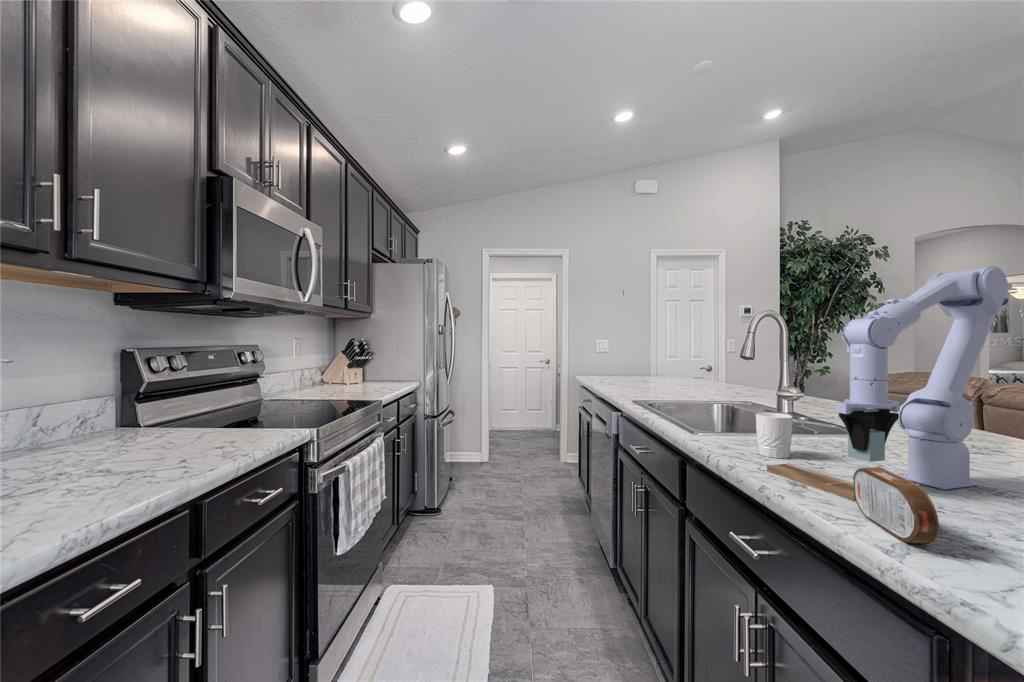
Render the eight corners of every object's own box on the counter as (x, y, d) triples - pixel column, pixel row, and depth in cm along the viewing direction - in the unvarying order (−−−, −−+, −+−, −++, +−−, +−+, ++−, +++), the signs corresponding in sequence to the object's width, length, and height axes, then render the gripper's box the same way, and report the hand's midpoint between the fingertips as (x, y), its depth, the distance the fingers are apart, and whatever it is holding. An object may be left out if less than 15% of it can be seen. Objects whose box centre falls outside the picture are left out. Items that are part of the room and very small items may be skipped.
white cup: (763, 458, 103) (763, 417, 103) (750, 450, 111) (750, 411, 111) (799, 460, 101) (799, 418, 101) (783, 451, 109) (783, 412, 109)
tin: (941, 556, 56) (941, 492, 56) (913, 553, 57) (913, 490, 57) (870, 511, 71) (870, 460, 71) (848, 509, 72) (849, 459, 72)
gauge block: (862, 455, 86) (862, 427, 86) (884, 460, 82) (884, 431, 82) (848, 456, 85) (848, 428, 85) (869, 461, 81) (869, 432, 81)
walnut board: (788, 468, 94) (788, 463, 94) (878, 497, 77) (878, 490, 77) (766, 471, 93) (766, 465, 93) (853, 500, 75) (853, 493, 75)
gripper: (872, 377, 89) (872, 441, 89) (820, 378, 85) (820, 446, 85) (912, 380, 83) (912, 450, 83) (857, 381, 78) (857, 455, 78)
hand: (868, 448), depth 83 cm, fingers closed on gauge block, 4 cm apart
